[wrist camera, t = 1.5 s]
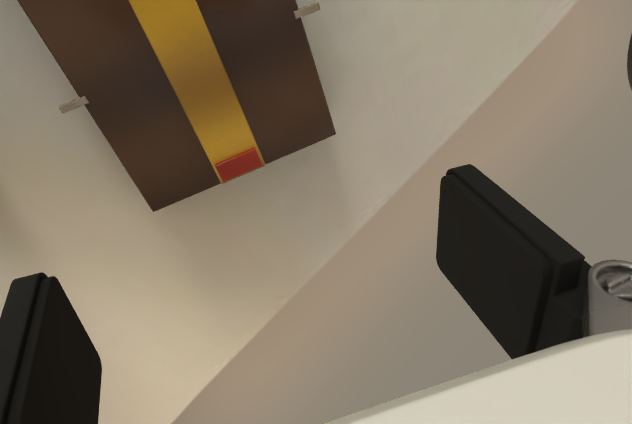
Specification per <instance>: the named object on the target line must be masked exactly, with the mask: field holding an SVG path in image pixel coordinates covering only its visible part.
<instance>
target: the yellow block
mask: <svg viewBox="0 0 632 424" xmlns="http://www.w3.org/2000/svg"><path fill="white" fill-rule="evenodd" d="M128 1H129V3H130V4H131V6H132V8H133V10H134V12H135V14H136V16H137V18H138V20H139V22H140V24H141V26H142V28H143V30H144V32H145V34H146V36H147V38H148V40H149V42H150V44H151V46H152V48H153V50H154V52H155V54H156V56H157V58H158V60H159V62H160V64H161V66H162V68H163V70H164V72H165V74H166V76H167V78H168V80H169V81H170V83H171V85H172V87H173V89H174V91H175V93H176V95H177V97H178V99H179V101H180V103H181V105H182V107H183V109H184V111H185V113H186V115H187V117H188V119H189V121H190V123H191V125H192V127H193V129H194V131H195V133H196V135H197V137H198V139H199V141H200V143H201V145H202V147H203V149H204V151H205V153H206V155H207V157H208V159H209V160H210V162H211V164H212V166H213V168H214V170H215V172H216V174H217V176H218V178H219V180H220V182H221V183H225V182H227V181H229V180H232V179H234V178H237V177H239V176H241V175H244V174H246V173H248V172H251V171H253V170H255V169H258V168H260V167H262V166H264V165H265V162H264V160H263V158H262V155H261V153H260V151H259V148H258V146H257V144H256V141H255V139H254V137H253V134H252V132H251V129H250V127H249V125H248V122H247V120H246V118H245V115H244V113H243V111H242V108H241V106H240V104H239V101H238V99H237V96H236V94H235V92H234V89H233V87H232V85H231V82H230V80H229V78H228V75H227V73H226V71H225V68H224V66H223V64H222V61H221V59H220V56H219V54H218V52H217V49H216V47H215V45H214V42H213V40H212V38H211V35H210V33H209V31H208V28H207V26H206V23H205V21H204V19H203V16H202V14H201V12H200V9H199V7H198V5H197V2H196V0H128Z"/></svg>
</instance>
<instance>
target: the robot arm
mask: <svg viewBox="0 0 632 424" xmlns="http://www.w3.org/2000/svg"><path fill="white" fill-rule="evenodd" d="M436 259H437V264H438V266H439V268H440V270H441V271H442V273H443V274H444V275H445V276H446V277H447V279H448V280H449V281H450V283H451V284H452V285H453V286H454V288H455V289H456V290H457V291H458V292H459V294H460V295H461V296H462V297H463V299H464V300H465V301H466V302H467V304H468V305H469V306H470V307H471V309H472V310H473V311H474V312H475V314H476V315H477V316H478V317H479V319H480V320H481V321H482V322H483V324H484V325H485V326H486V327H487V329H488V330H489V331H490V332H491V334H492V335H493V336H494V337H495V339H496V340H497V341H498V342H499V344H500V345H501V346H502V347H503V349H504V350H505V351H506V352H507V354H508V355H509V356H510V357H511V359H512V360H509V361H506V362H503V363H500V364H497V365H494V366H491V367H488V368H485V369H482V370H479V371H476V372H473V373H470V374H467V375H464V376H461V377H458V378H455V379H453V380H450V381H447V382H444V383H441V384H438V385H435V386H432V387H429V388H426V389H423V390H420V391H417V392H414V393H411V394H408V395H405V396H403V397H399V398H397V399H394V400H391V401H388V402H385V403H382V404H379V405H377V406H373V407H370V408H367V409H365V410H362V411H359V412H356V413H353V414H350V415H347V416H344V417H341V418H339V419H336V420H333V421H330V422H327V423H324V424H632V262H628V261H623V260H606V261H601V262H599V263H597V264H595V265H593V266H590V265H589V264H588V263H587V262H586V261H584V259H585V257H584V256H583V255H582V254H581V253H580V252H579V251H577V250H576V249H575V248H573V247H572V246H571V245H570V244H569V243H568V242H566V241H565V240H564V239H563V238H561V237H560V236H559V235H558V234H556V233H555V232H554V231H553V230H552V229H550V228H549V227H548V226H547V225H545V224H544V223H543V222H542V221H541V220H539V219H538V218H537V217H536V216H534V215H533V214H532V213H531V212H530V211H528V210H527V209H526V208H525V207H523V206H522V205H521V204H520V203H519V202H517V201H516V200H515V199H514V198H512V197H511V196H510V195H508V193H506V192H505V191H504V190H503V189H501V188H500V187H499V186H498V185H497V184H495V183H494V182H493V181H492V180H490V179H489V178H488V177H486V176H485V175H484V174H483V173H482V172H481V171H479V170H478V169H477V168H476V167H474V166H473V165H471V164H468V165H464V166H460V167H456V168H452V169H449V170H448V171H447V173H446V176H444V177H442V179H441V185H440V201H439V218H438V236H437V251H436ZM101 374H102V366H101V360H100V357H99V355H98V353H97V351H96V349H95V347H94V345H93V343H92V342H91V340H90V338H89V336H88V334H87V332H86V331H85V329H84V327H83V325H82V323H81V321H80V320H79V318H78V316H77V314H76V312H75V310H74V308H73V307H72V305H71V303H70V301H69V299H68V297H67V296H66V294H65V292H64V290H63V288H62V286H61V285H60V283H59V281H58V279H57V278H56V277H54V276H52V277H49V278H48V277H47V275H45V274H44V273H38V274H34V275H30V276H26V277H22V278H18V279H15V280H13V281H12V283H11V286H10V289H9V292H8V295H7V298H6V302H5V305H4V308H3V311H2V314H1V317H0V424H98V415H99V401H100V387H101Z"/></svg>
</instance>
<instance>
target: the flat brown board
mask: <svg viewBox="0 0 632 424" xmlns="http://www.w3.org/2000/svg"><path fill="white" fill-rule="evenodd" d="M18 2H19V3H20V5H21V7H22V8H23V10H24V11H25V13H26V14H27V16H28V17H29V19H30V21H31V22H32V24H33V25H34V27H35V28H36V30H37V32H38V33H39V35H40V36H41V38H42V39H43V41H44V42H45V44H46V46H47V47H48V49H49V50H50V52H51V53H52V55H53V56H54V58H55V60H56V61H57V63H58V64H59V66H60V67H61V69H62V71H63V72H64V74H65V75H66V77H67V78H68V80H69V81H70V83H71V85H72V86H73V88H74V89H75V91H76V92H77V94H78V95H79V97H80V98H78V99H76V100H73V101H71V102H68V103H66V104H63V105H61V106H59V109H60V110H61V112H62V113H65V112H68V111H70V110H73V109H75V108H77V107H80V106H82V105H85V106H86V108H87V110H88V111H89V113H90V114H91V116H92V117H93V119H94V120H95V122H96V124H97V125H98V127H99V128H100V130H101V131H102V133H103V134H104V136H105V138H106V139H107V141H108V142H109V144H110V145H111V147H112V149H113V150H114V152H115V153H116V155H117V156H118V158H119V159H120V161H121V163H122V164H123V166H124V167H125V169H126V170H127V172H128V173H129V175H130V177H131V178H132V180H133V181H134V183H135V184H136V186H137V188H138V189H139V191H140V192H141V194H142V195H143V197H144V198H145V200H146V202H147V203H148V205H149V206H150V208H151V209H152V211H153V212H154V211H157V210H159V209H161V208H164V207H166V206H168V205H171V204H173V203H175V202H178V201H180V200H182V199H185V198H187V197H189V196H192V195H194V194H197V193H199V192H201V191H204V190H206V189H208V188H211V187H213V186H215V185H218V184H220V183H221V182H220V180H219V178H218V176H217V174H216V172H215V170H214V168H213V166H212V164H211V162H210V160H209V159H208V157H207V155H206V153H205V151H204V149H203V147H202V145H201V143H200V141H199V139H198V137H197V135H196V133H195V131H194V129H193V127H192V125H191V123H190V121H189V119H188V117H187V115H186V113H185V111H184V109H183V107H182V105H181V103H180V101H179V99H178V97H177V95H176V93H175V91H174V89H173V87H172V85H171V83H170V81H169V80H168V78H167V76H166V74H165V72H164V70H163V68H162V66H161V64H160V62H159V60H158V58H157V56H156V54H155V52H154V50H153V48H152V46H151V44H150V42H149V40H148V38H147V36H146V34H145V32H144V30H143V28H142V26H141V24H140V22H139V20H138V18H137V16H136V14H135V12H134V10H133V8H132V6H131V4H130V3H129V1H128V0H18ZM196 2H197V5H198V7H199V9H200V12H201V14H202V16H203V19H204V21H205V23H206V26H207V28H208V31H209V33H210V35H211V38H212V40H213V42H214V45H215V47H216V49H217V52H218V54H219V56H220V59H221V61H222V64H223V66H224V68H225V71H226V73H227V75H228V78H229V80H230V82H231V85H232V87H233V89H234V92H235V94H236V96H237V99H238V101H239V104H240V106H241V108H242V111H243V113H244V115H245V118H246V120H247V122H248V125H249V127H250V129H251V132H252V134H253V137H254V139H255V141H256V144H257V146H258V148H259V151H260V153H261V155H262V158H263V160H264V162H265V164H267V163H269V162H272V161H274V160H277V159H279V158H281V157H284V156H286V155H288V154H291V153H293V152H295V151H298V150H300V149H302V148H305V147H307V146H309V145H312V144H314V143H317V142H319V141H321V140H324V139H326V138H328V137H331V136H333V135H335V134H336V132H335V129H334V126H333V122H332V119H331V116H330V112H329V109H328V106H327V102H326V99H325V96H324V93H323V89H322V86H321V83H320V79H319V76H318V73H317V70H316V66H315V63H314V60H313V56H312V53H311V50H310V46H309V43H308V40H307V37H306V33H305V30H304V27H303V23H302V20H301V17H303V16H305V15H307V14H310V13H312V12H315V11H317V10H320V5H319V2H316V3H314V4H311V5H309V6H306V7H304V8H301V9H299V10H298V7H297V4H296V0H196Z"/></svg>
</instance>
